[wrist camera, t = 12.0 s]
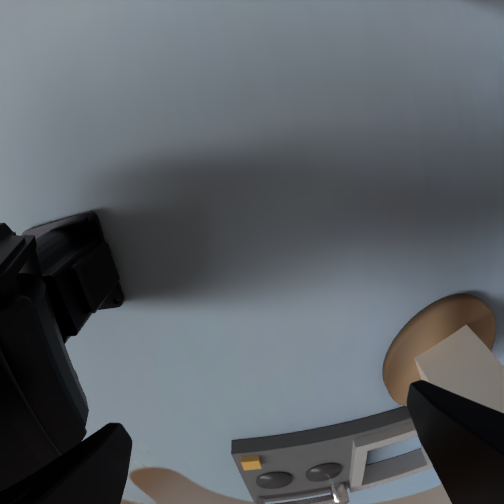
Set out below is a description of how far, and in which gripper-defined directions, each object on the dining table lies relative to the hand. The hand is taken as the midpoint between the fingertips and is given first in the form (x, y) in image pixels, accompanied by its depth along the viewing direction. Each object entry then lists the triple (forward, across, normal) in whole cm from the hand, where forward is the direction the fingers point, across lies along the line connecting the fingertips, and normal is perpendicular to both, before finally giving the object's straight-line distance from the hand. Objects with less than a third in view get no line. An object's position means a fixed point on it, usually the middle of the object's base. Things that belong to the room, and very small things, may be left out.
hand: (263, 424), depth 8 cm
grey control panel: (+12, +6, -23) cm, 26 cm away
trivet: (+12, +14, -11) cm, 21 cm away
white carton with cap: (+11, +14, -11) cm, 21 cm away
